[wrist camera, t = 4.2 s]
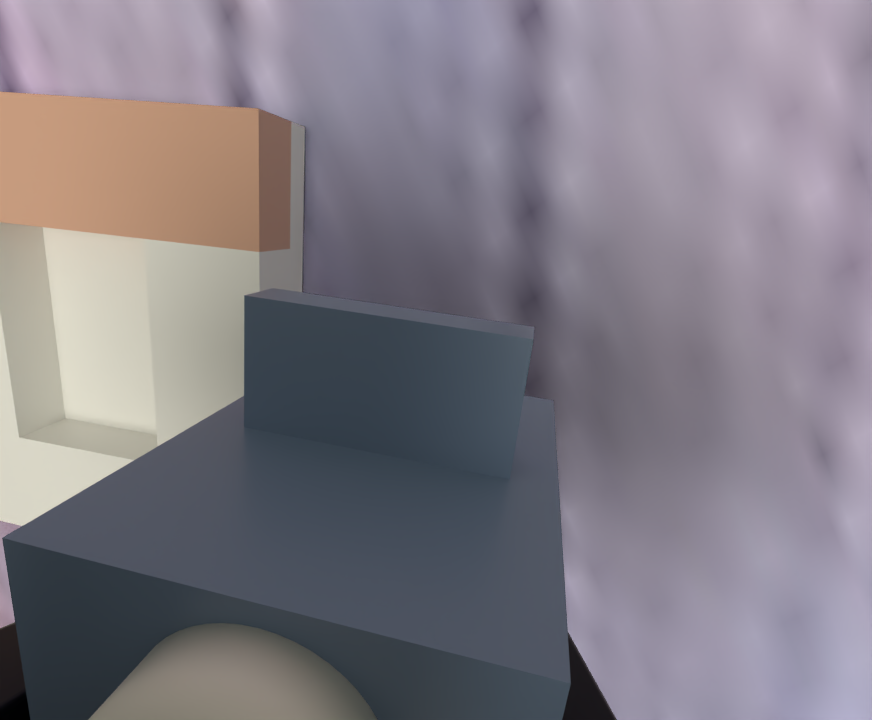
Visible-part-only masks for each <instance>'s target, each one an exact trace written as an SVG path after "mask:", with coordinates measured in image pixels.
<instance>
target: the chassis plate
mask: <svg viewBox="0 0 872 720" xmlns="http://www.w3.org/2000/svg"><path fill="white" fill-rule="evenodd" d="M304 158H305V127H304V126H301V125H299V124H296V123H294V122H291V121H289V120H286V119H283V118H281V117H278V116H276V115H273V114H271V113H268V112H266V111H263V110H261V109H257V108H242V107H226V106H211V105H195V104H180V103H164V102H149V101H134V100H118V99H103V98H87V97H72V96H56V95H41V94H26V93H10V92H0V521H4V522H8V523H12V524H17V525H21V526H23V525H25V524H27V523H28V522H30V521H32V520H34V519H35V518H37V517H39V516H40V515H42V514H44V513H45V512H47V511H49V510H51V509H52V508H54V507H56V506H57V505H59V504H61V503H62V502H64V501H66V500H68V499H69V498H71V497H73V496H74V495H76V494H78V493H79V492H81V491H83V490H84V489H86V488H88V487H90V486H91V485H93V484H95V483H96V482H98V481H100V480H101V479H103V478H105V477H107V476H108V475H110V474H112V473H113V472H115V471H117V470H118V469H120V468H122V467H124V466H125V465H127V464H129V463H130V462H132V461H134V460H135V459H137V458H139V457H141V456H142V455H144V454H146V453H147V452H149V451H151V450H152V449H154V448H156V447H158V446H159V445H161V444H163V443H164V442H166V441H168V440H169V439H171V438H173V437H175V436H176V435H178V434H180V433H181V432H183V431H185V430H186V429H188V428H190V427H192V426H193V425H195V424H197V423H198V422H200V421H202V420H203V419H205V418H207V417H209V416H210V415H212V414H214V413H215V412H217V411H219V410H220V409H222V408H224V407H226V406H227V405H229V404H231V403H232V402H234V401H236V400H237V399H239V398H241V397H243V396H244V295H248V294H252V293H256V292H259V291H263V290H267V289H271V288H276V289H283V290H289V291H296V292H302V271H303V214H304Z"/></svg>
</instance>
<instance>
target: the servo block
mask: <svg viewBox="0 0 872 720" xmlns="http://www.w3.org/2000/svg"><path fill="white" fill-rule="evenodd" d="M534 328H535V327H533V326H526V325H519V324H512V323H505V322H499V321H492V320H485V319H478V318H472V317H465V316H458V315H451V314H445V313H438V312H431V311H424V310H418V309H411V308H404V307H397V306H391V305H384V304H377V303H370V302H364V301H357V300H350V299H343V298H337V297H330V296H323V295H316V294H310V293H303V292H296V291H289V290H283V289H276V288H271V289H267V290H263V291H259V292H256V293H252V294H248V295H244V396H243V397H241V398H239V399H237V400H236V401H234V402H232V403H231V404H229V405H227V406H226V407H224V408H222V409H220V410H219V411H217V412H215V413H214V414H212V415H210V416H209V417H207V418H205V419H203V420H202V421H200V422H198V423H197V424H195V425H193V426H192V427H190V428H188V429H186V430H185V431H183V432H181V433H180V434H178V435H176V436H175V437H173V438H171V439H169V440H168V441H166V442H164V443H163V444H161V445H159V446H158V447H156V448H154V449H152V450H151V451H149V452H147V453H146V454H144V455H142V456H141V457H139V458H137V459H135V460H134V461H132V462H130V463H129V464H127V465H125V466H124V467H122V468H120V469H118V470H117V471H115V472H113V473H112V474H110V475H108V476H107V477H105V478H103V479H101V480H100V481H98V482H96V483H95V484H93V485H91V486H90V487H88V488H86V489H84V490H83V491H81V492H79V493H78V494H76V495H74V496H73V497H71V498H69V499H68V500H66V501H64V502H62V503H61V504H59V505H57V506H56V507H54V508H52V509H51V510H49V511H47V512H45V513H44V514H42V515H40V516H39V517H37V518H35V519H34V520H32V521H30V522H28V523H27V524H25V525H23V526H22V527H20V528H18V529H17V530H15V531H13V532H11V533H10V534H8V535H6V536H5V537H3V538H2V539H3V546H4V552H5V559H6V565H7V572H8V578H9V585H10V591H11V598H12V604H13V610H14V617H15V623H16V630H17V636H18V643H19V649H20V656H21V662H22V669H23V675H24V682H25V688H26V695H27V701H28V708H29V714H30V720H562V718H563V714H564V710H565V706H566V701H567V697H568V693H569V689H570V685H571V679H570V662H569V646H568V630H567V613H566V597H565V580H564V564H563V547H562V531H561V514H560V498H559V482H558V465H557V449H556V432H555V416H554V400H548V399H542V398H536V397H531V396H525V395H524V393H525V387H526V381H527V375H528V370H529V364H530V358H531V352H532V346H533V340H534Z"/></svg>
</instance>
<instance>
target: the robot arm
mask: <svg viewBox="0 0 872 720" xmlns="http://www.w3.org/2000/svg"><path fill="white" fill-rule="evenodd" d="M568 646H569V662H570V679H571V685H570V689H569V693H568V697H567V701H566V706H565V710H564V714H563V718H562V720H617V719H616V718H615V716H614V714H613V712H612V710H611V709H610V707H609V705H608V703H607V701H606V700H605V698H604V696H603V694H602V692H601V691H600V689H599V687H598V685H597V683H596V682H595V680H594V678H593V676H592V674H591V673H590V671H589V669H588V667H587V665H586V664H585V662H584V660H583V658H582V656H581V655H580V653H579V651H578V649H577V647H576V646H575V644H574V642H573V640H572V638H571V637H570V635H569V633H568ZM0 720H30V714H29V708H28V701H27V695H26V688H25V682H24V675H23V669H22V662H21V656H20V649H19V643H18V636H17V630H16V623H15V622H14V623H12V624H10V625H7V626H5V627H2V628H0Z"/></svg>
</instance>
